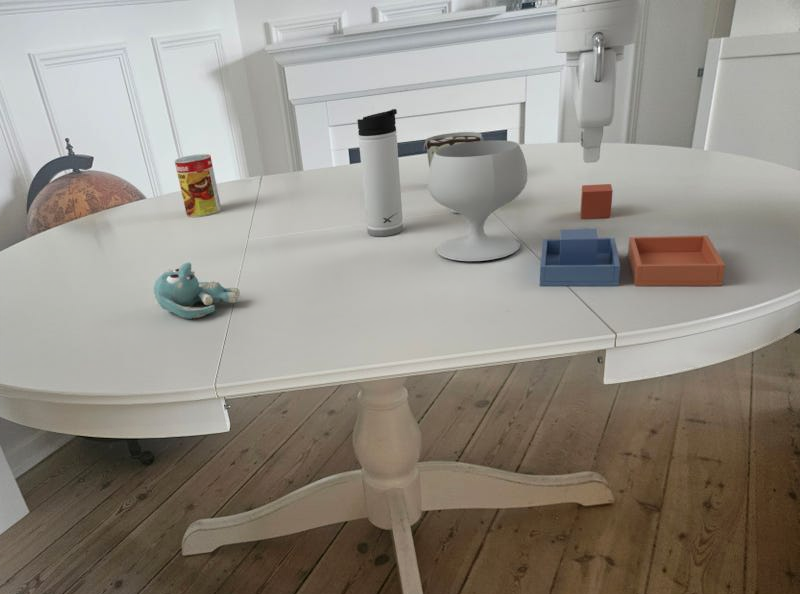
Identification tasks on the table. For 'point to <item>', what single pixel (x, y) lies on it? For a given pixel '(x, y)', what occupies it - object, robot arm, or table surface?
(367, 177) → the travel mug
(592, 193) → the rust block
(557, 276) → the slate tray
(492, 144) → the chalice
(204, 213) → the canned food
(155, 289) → the stuffed animal
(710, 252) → the rust tray
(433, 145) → the food container
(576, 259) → the slate block
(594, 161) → the robot arm
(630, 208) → the table surface
